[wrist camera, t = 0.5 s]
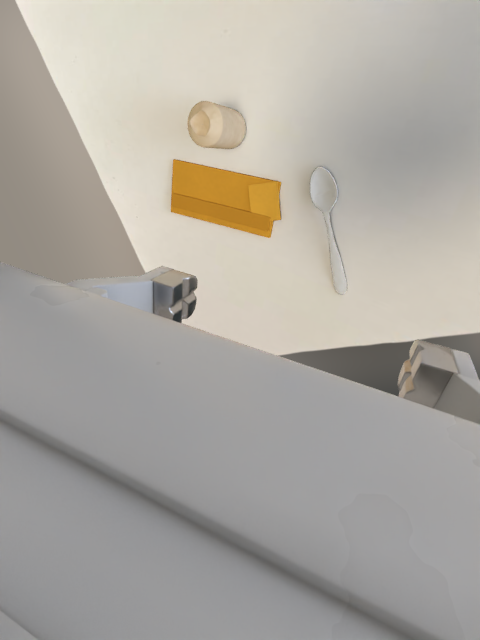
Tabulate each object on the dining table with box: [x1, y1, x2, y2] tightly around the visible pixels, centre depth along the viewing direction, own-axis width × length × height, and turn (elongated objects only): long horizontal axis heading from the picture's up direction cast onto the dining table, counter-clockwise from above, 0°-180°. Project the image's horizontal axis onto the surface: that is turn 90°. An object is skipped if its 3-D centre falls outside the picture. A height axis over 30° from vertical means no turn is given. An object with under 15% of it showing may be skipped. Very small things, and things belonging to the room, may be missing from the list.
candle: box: [188, 101, 246, 149], centre depth 48 cm, size 6×6×10 cm
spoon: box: [310, 167, 347, 295], centre depth 52 cm, size 4×21×2 cm, turn 17°
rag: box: [171, 160, 281, 238], centre depth 57 cm, size 9×21×1 cm, turn 81°
